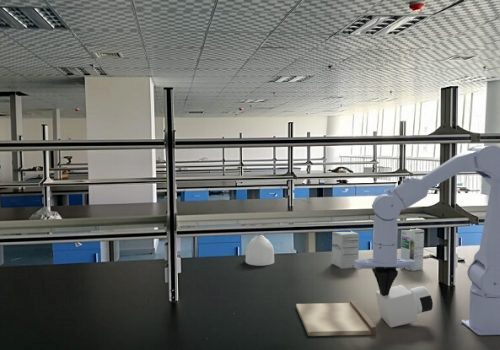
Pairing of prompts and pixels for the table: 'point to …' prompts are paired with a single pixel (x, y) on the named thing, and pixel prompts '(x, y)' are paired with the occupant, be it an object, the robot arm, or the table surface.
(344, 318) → the board
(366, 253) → the table surface
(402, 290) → the medicine bottle
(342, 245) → the supplement box
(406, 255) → the syrup box
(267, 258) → the teardrop
